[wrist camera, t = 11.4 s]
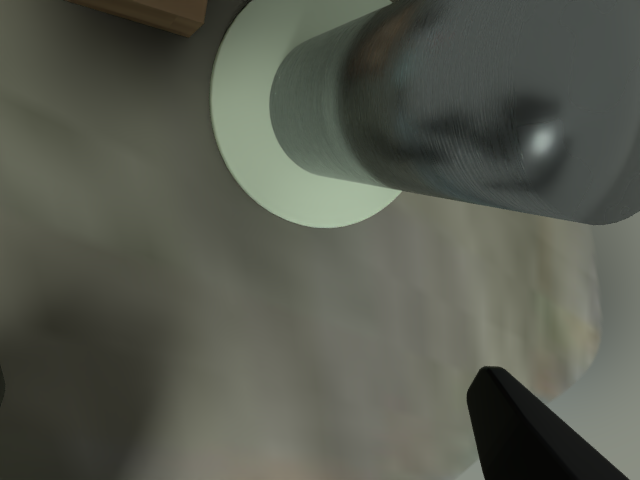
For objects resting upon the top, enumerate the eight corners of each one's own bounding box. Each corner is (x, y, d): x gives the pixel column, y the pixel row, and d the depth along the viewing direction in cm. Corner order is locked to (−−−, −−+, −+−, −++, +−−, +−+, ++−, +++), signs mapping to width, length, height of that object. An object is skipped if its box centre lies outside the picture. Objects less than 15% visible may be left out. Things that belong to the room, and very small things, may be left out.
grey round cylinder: (300, 199, 20) (546, 274, 9) (246, 63, 18) (482, -43, 7) (406, 146, 21) (718, 157, 11) (368, 16, 19) (704, -126, 9)
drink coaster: (339, 268, 22) (346, 271, 21) (153, 122, 17) (155, 121, 17) (459, 97, 23) (468, 96, 22) (313, -83, 18) (321, -90, 18)
